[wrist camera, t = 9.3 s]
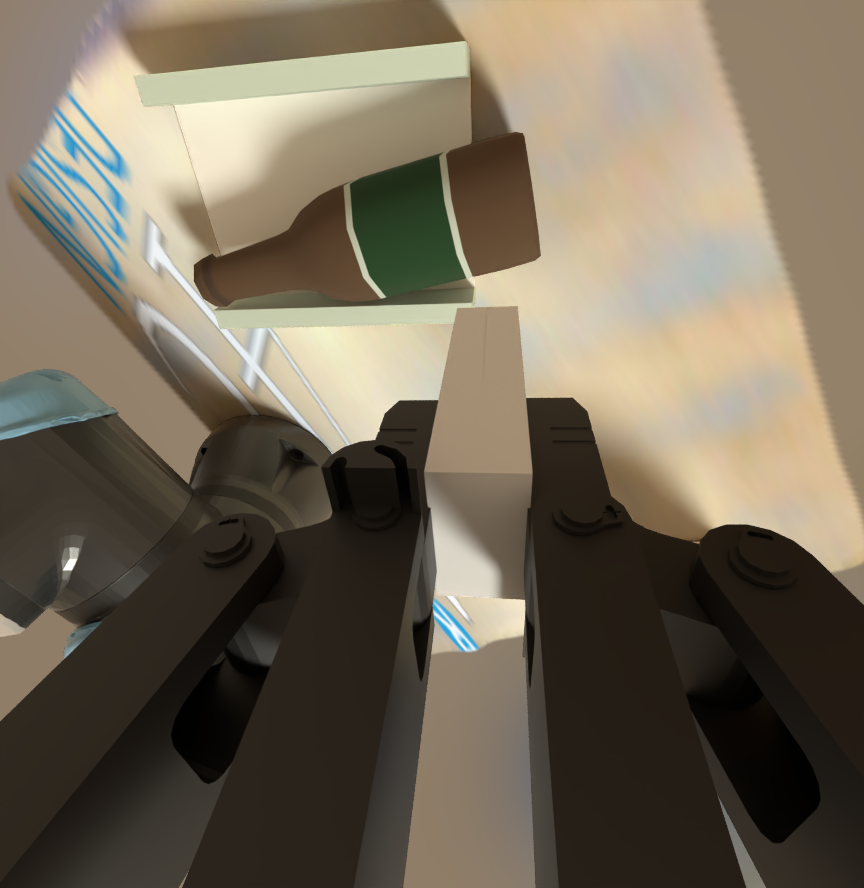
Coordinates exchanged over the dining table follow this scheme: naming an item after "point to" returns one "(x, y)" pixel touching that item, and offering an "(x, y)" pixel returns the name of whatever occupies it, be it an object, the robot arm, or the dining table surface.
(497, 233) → the beer bottle
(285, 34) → the dining table surface
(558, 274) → the dining table surface
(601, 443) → the dining table surface
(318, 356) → the dining table surface
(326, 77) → the rest
